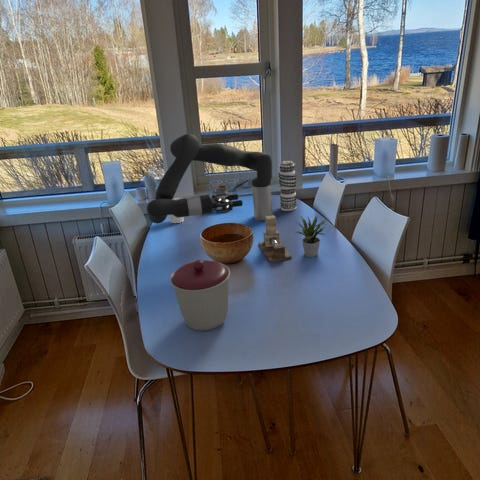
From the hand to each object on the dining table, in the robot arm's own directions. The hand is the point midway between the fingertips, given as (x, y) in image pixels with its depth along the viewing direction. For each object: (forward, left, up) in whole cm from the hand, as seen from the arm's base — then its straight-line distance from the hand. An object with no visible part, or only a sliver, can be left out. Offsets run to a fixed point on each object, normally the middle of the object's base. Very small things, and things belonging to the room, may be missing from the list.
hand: (240, 199), depth 160 cm
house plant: (+12, +25, -24) cm, 37 cm away
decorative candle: (-45, +34, -24) cm, 61 cm away
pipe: (+3, +12, -20) cm, 24 cm away
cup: (-50, -25, -24) cm, 61 cm away
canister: (+43, -22, -24) cm, 54 cm away
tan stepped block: (0, +12, -22) cm, 25 cm away
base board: (+3, +12, -24) cm, 27 cm away
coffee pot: (-58, +6, -24) cm, 63 cm away
